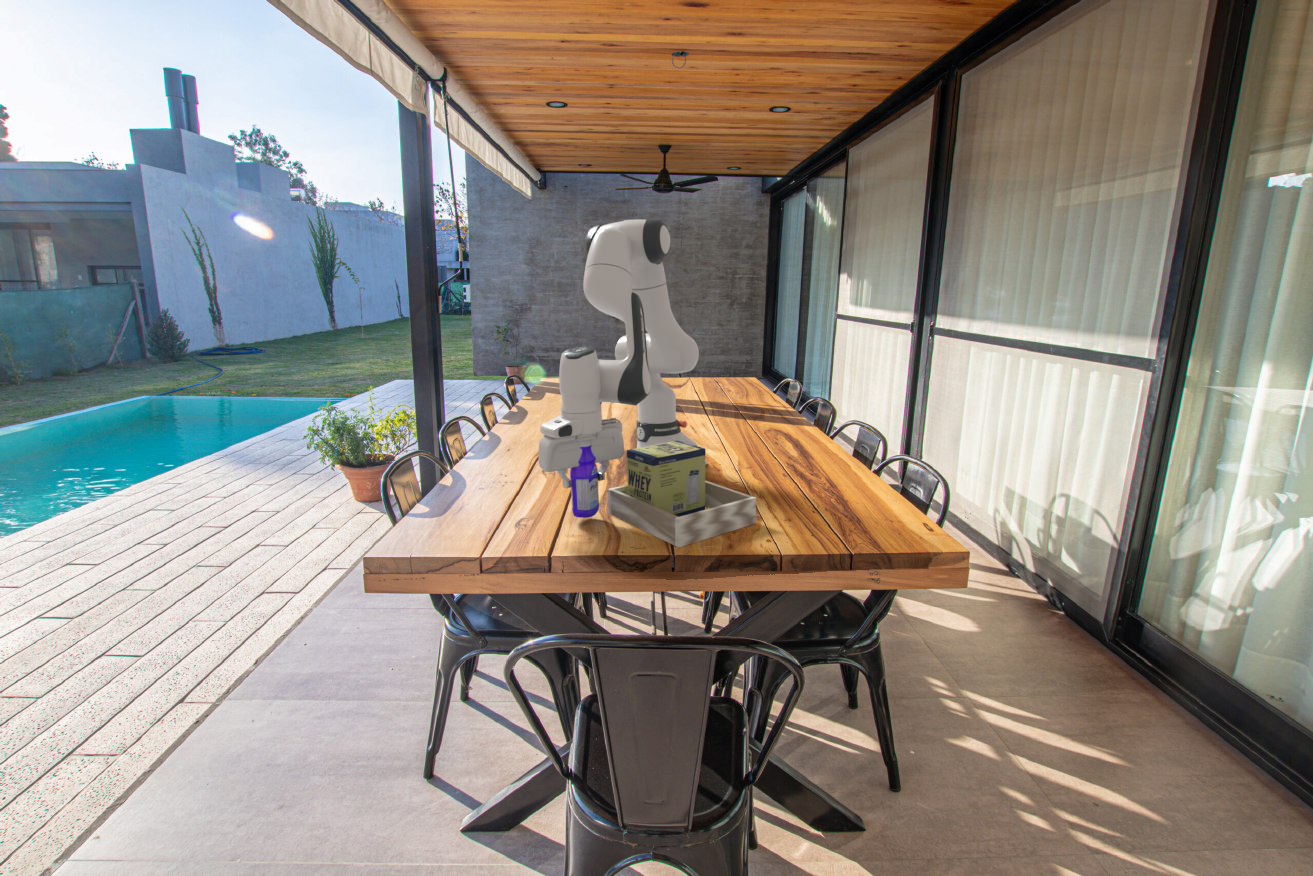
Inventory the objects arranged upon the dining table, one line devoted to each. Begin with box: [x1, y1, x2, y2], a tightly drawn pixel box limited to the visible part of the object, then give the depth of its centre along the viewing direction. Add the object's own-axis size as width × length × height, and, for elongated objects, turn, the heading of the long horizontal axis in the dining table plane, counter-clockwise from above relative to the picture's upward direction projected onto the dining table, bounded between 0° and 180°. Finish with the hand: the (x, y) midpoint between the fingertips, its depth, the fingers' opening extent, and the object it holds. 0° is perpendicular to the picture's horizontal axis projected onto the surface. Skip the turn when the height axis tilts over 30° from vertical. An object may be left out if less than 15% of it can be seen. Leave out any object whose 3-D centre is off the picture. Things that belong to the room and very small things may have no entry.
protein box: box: [626, 441, 706, 517], centre depth 148 cm, size 10×16×16 cm
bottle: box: [569, 440, 600, 519], centre depth 142 cm, size 7×6×17 cm
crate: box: [607, 480, 757, 548], centre depth 145 cm, size 22×26×6 cm
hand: (584, 483), depth 143 cm, fingers closed on bottle, 7 cm apart
